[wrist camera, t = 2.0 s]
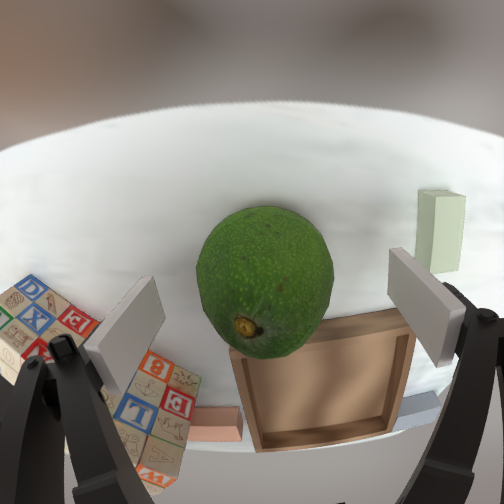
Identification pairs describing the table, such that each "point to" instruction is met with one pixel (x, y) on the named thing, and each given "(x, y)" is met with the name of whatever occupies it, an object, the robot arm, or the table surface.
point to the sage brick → (439, 230)
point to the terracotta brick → (216, 424)
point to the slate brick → (417, 410)
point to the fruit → (265, 281)
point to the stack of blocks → (121, 407)
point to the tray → (328, 384)
